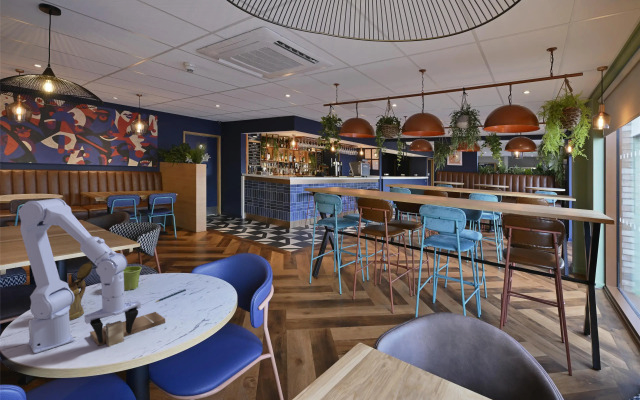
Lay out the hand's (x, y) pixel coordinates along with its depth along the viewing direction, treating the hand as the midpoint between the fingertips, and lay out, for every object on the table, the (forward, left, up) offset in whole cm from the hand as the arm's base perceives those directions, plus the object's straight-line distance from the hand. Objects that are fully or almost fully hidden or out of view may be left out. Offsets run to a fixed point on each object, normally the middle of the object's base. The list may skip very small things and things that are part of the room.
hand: (114, 337), depth 98 cm
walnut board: (+6, +6, -2) cm, 8 cm away
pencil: (+28, +23, -2) cm, 37 cm away
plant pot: (+20, +46, -2) cm, 50 cm away
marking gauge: (0, +3, -2) cm, 3 cm away
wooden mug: (-3, +32, -2) cm, 33 cm away
